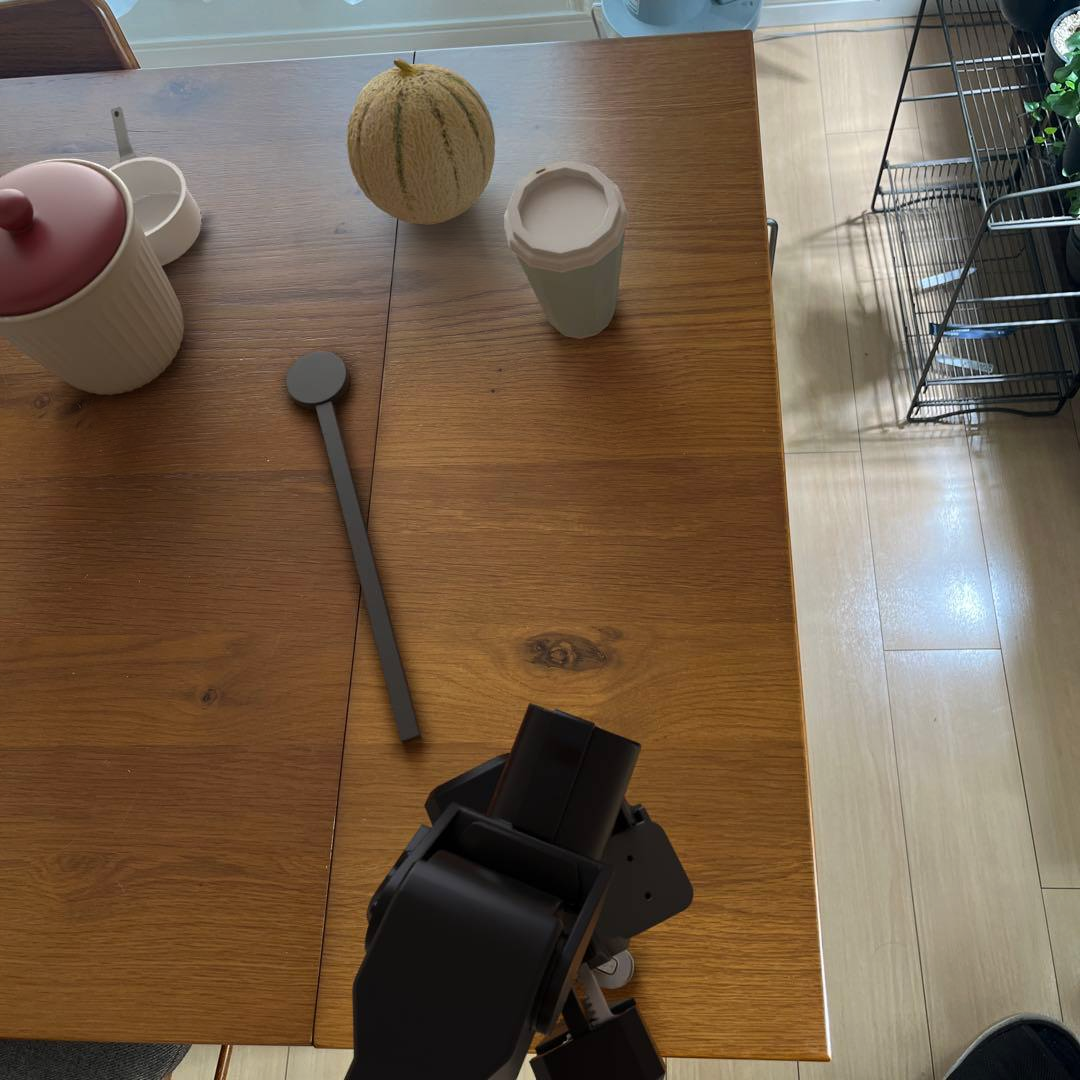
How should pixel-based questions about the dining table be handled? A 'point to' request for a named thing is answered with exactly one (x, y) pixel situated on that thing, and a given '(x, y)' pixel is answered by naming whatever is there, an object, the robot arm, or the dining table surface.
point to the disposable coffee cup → (569, 243)
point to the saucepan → (157, 198)
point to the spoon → (354, 520)
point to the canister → (83, 278)
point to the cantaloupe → (421, 143)
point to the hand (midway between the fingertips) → (559, 925)
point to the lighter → (615, 971)
